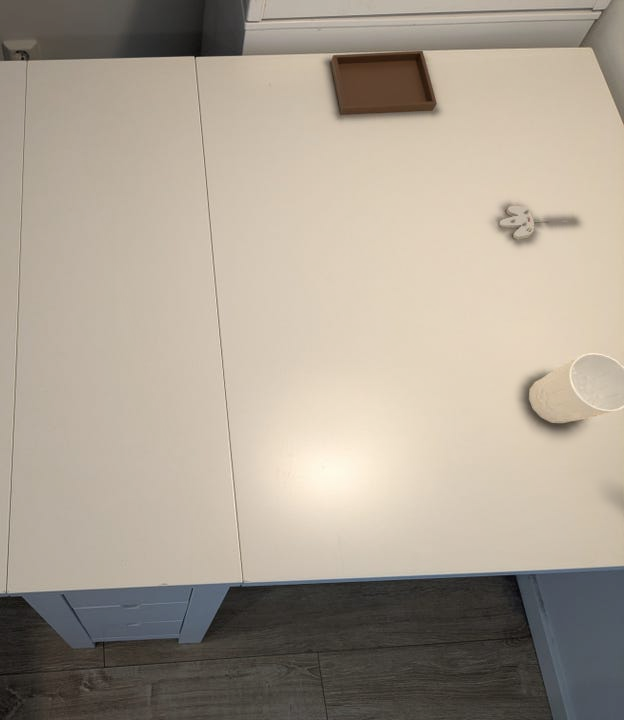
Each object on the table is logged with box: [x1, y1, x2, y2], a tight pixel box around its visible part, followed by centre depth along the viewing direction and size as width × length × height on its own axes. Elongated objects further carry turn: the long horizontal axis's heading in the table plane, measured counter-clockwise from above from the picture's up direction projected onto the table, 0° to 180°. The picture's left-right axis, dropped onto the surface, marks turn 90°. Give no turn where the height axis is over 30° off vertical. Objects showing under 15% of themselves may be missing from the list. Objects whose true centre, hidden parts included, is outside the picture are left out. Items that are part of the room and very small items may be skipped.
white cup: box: [528, 352, 624, 424], centre depth 76 cm, size 8×8×10 cm
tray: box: [330, 50, 438, 116], centre depth 99 cm, size 12×16×2 cm
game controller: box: [498, 205, 569, 240], centre depth 90 cm, size 6×12×3 cm, turn 109°
